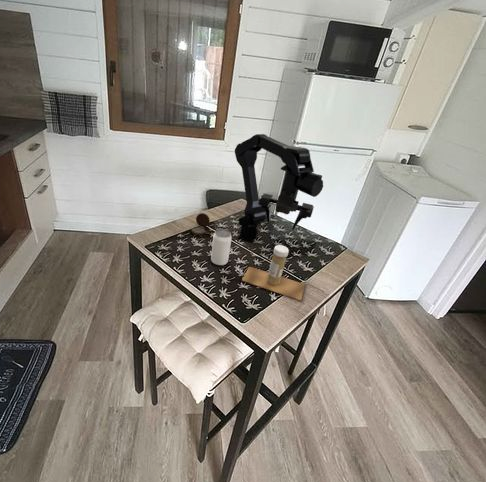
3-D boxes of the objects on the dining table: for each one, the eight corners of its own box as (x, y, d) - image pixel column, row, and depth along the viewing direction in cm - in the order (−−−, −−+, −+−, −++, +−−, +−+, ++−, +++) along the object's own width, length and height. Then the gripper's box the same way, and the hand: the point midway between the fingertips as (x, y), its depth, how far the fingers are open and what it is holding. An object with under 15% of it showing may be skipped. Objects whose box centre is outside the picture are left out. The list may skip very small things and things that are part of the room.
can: (230, 258, 106) (234, 230, 100) (225, 267, 100) (229, 239, 94) (213, 254, 107) (217, 226, 101) (208, 263, 102) (211, 234, 96)
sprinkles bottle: (281, 285, 95) (291, 251, 88) (269, 286, 93) (278, 252, 86) (276, 276, 98) (285, 244, 91) (264, 277, 97) (272, 244, 90)
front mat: (241, 280, 95) (241, 279, 95) (249, 267, 102) (249, 266, 102) (300, 301, 89) (301, 300, 89) (304, 285, 96) (304, 284, 96)
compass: (188, 233, 119) (189, 217, 115) (196, 225, 125) (197, 211, 122) (205, 238, 117) (207, 222, 113) (213, 230, 123) (214, 215, 119)
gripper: (258, 186, 92) (250, 228, 100) (316, 200, 87) (302, 242, 95) (266, 177, 101) (258, 216, 109) (319, 189, 96) (306, 229, 104)
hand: (280, 226), depth 104 cm, fingers open, 9 cm apart
